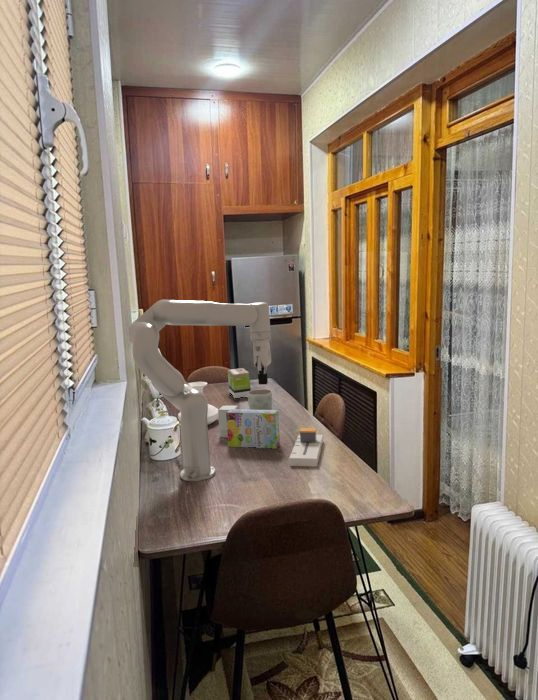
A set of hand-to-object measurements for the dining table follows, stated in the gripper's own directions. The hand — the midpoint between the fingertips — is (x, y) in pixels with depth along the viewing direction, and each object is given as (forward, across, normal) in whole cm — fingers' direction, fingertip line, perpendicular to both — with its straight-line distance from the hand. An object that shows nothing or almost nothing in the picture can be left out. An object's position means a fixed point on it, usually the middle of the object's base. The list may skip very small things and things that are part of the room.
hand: (263, 383), depth 187 cm
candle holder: (+29, +42, +42) cm, 66 cm away
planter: (+29, +59, +15) cm, 68 cm away
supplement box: (+29, +25, +22) cm, 44 cm away
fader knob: (+26, +10, -15) cm, 32 cm away
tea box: (+29, +94, +35) cm, 105 cm away
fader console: (+29, +5, -15) cm, 33 cm away
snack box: (+29, +12, +8) cm, 33 cm away
